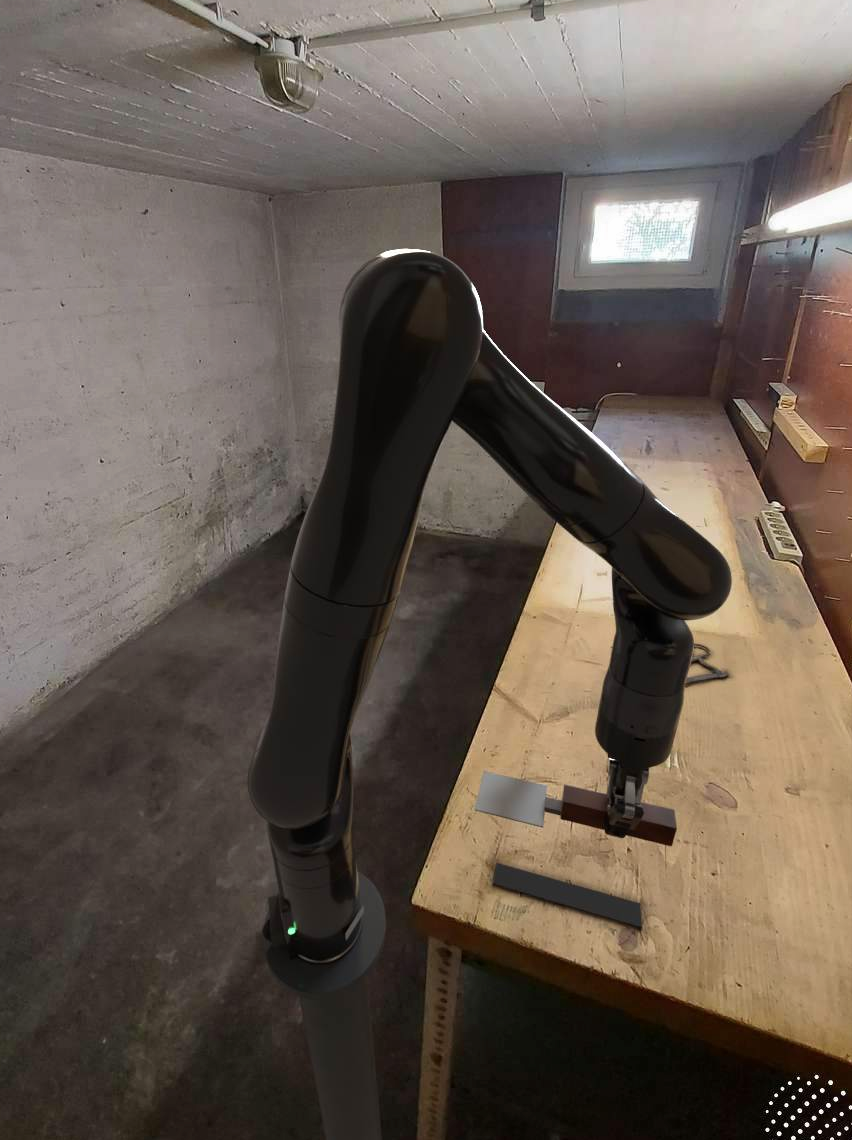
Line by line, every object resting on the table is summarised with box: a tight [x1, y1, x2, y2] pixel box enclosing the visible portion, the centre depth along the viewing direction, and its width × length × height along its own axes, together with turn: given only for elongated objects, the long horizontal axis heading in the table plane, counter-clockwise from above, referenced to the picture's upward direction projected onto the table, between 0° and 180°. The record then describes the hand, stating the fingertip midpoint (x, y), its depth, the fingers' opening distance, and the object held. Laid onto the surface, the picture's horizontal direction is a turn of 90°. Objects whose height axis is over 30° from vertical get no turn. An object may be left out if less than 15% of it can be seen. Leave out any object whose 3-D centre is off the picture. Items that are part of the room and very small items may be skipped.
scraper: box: [474, 770, 678, 847], centre depth 66 cm, size 22×6×3 cm, turn 72°
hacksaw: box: [686, 643, 731, 684], centre depth 110 cm, size 24×10×2 cm, turn 103°
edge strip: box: [492, 862, 643, 929], centre depth 72 cm, size 18×3×1 cm, turn 72°
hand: (614, 821), depth 65 cm, fingers closed on scraper, 2 cm apart
